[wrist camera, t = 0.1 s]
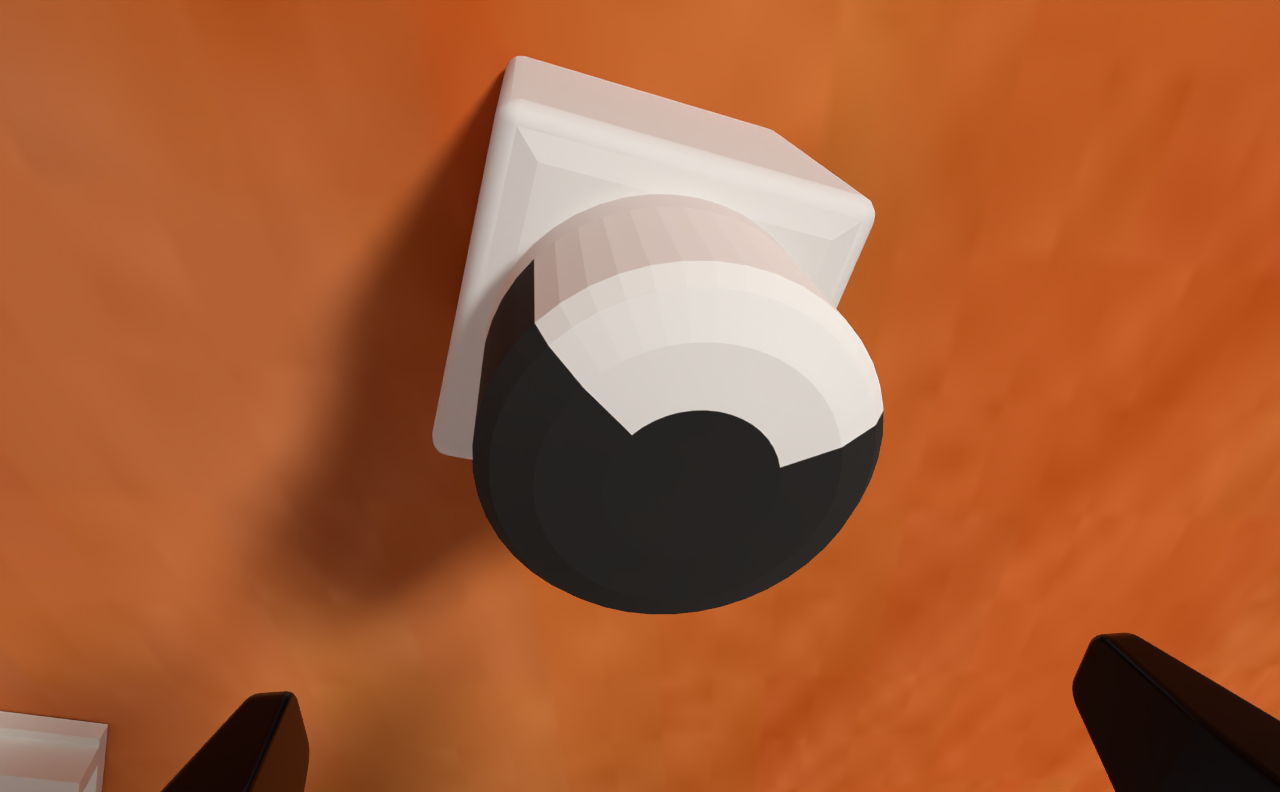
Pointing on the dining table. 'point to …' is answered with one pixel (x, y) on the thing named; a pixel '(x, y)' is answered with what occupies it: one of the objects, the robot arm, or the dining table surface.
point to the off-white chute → (51, 754)
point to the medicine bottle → (657, 347)
